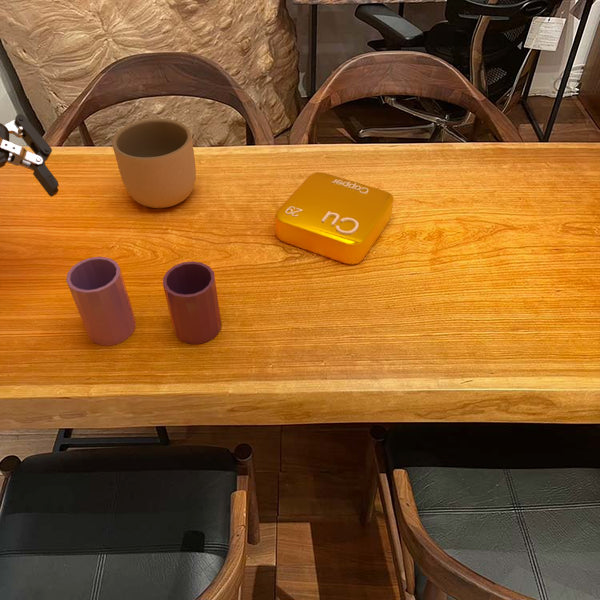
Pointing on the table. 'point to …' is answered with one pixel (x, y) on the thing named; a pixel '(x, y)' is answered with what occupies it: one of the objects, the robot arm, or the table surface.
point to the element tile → (334, 217)
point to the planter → (156, 161)
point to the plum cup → (192, 302)
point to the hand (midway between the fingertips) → (26, 209)
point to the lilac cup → (102, 300)
